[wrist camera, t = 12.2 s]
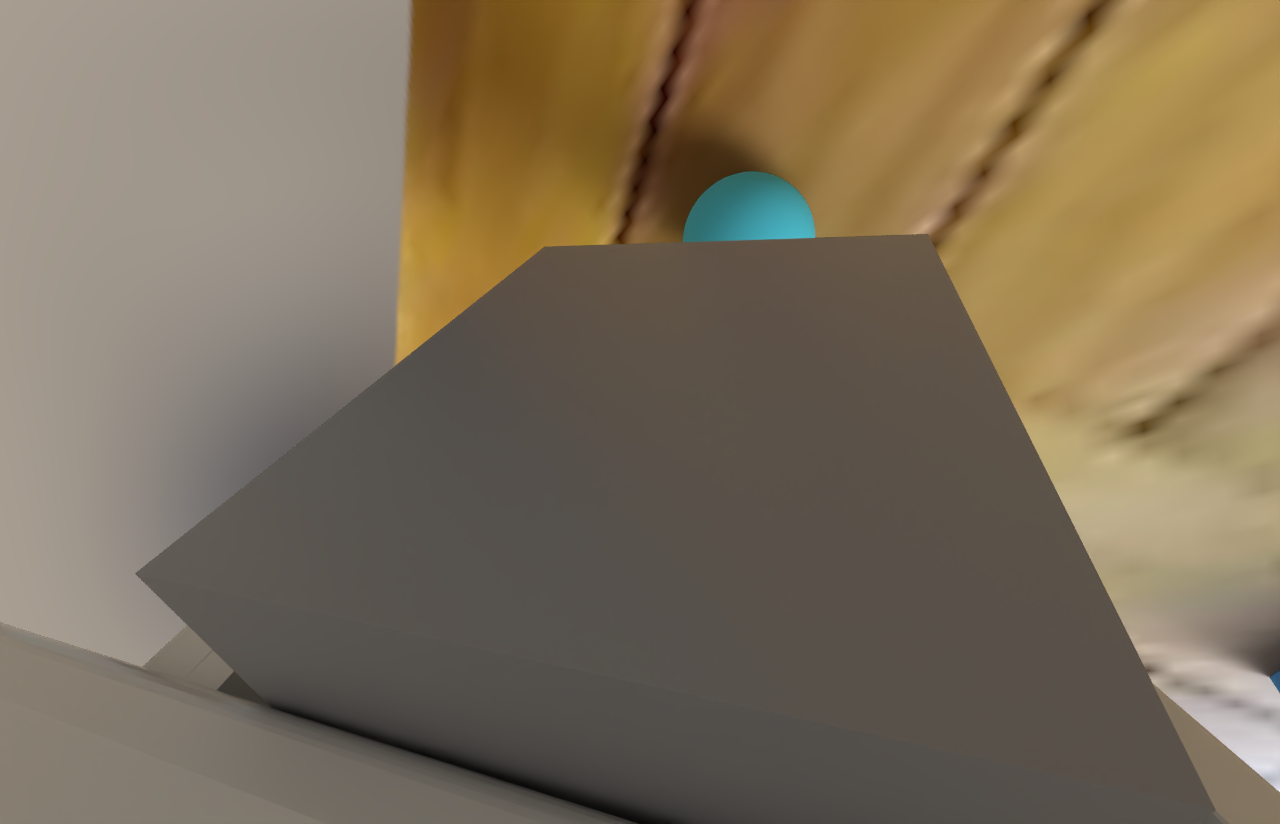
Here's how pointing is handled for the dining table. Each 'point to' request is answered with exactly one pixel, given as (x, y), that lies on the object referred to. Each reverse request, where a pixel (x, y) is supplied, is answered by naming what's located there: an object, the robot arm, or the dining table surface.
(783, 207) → the ball
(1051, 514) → the gray cuboid
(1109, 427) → the dining table surface
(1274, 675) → the perfume bottle
